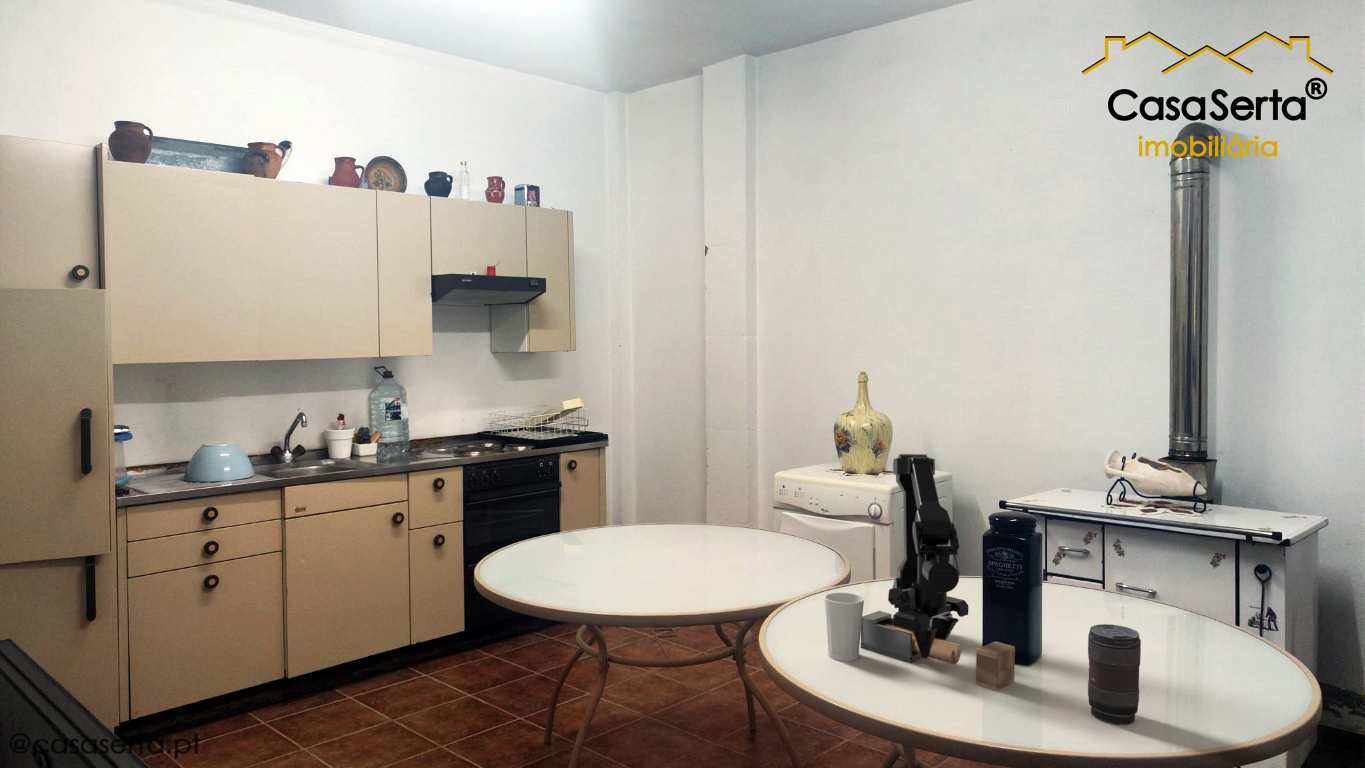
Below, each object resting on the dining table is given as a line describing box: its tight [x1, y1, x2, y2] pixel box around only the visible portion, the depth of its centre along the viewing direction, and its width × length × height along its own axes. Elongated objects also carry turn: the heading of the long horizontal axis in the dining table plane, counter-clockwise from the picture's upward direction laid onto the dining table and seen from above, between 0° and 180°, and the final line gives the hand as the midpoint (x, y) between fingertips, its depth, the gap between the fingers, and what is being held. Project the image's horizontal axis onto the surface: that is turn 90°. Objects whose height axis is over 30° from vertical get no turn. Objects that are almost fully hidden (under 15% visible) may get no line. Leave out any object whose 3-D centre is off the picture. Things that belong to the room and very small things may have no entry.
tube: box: [876, 622, 962, 665], centre depth 178 cm, size 19×4×4 cm, turn 42°
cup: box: [824, 592, 865, 662], centre depth 179 cm, size 8×8×12 cm
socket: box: [975, 640, 1016, 691], centre depth 165 cm, size 7×4×7 cm, turn 132°
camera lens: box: [1087, 623, 1142, 725], centre depth 150 cm, size 8×8×15 cm
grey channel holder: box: [860, 610, 923, 664], centre depth 181 cm, size 12×7×7 cm, turn 42°
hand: (930, 655), depth 175 cm, fingers closed on tube, 4 cm apart
